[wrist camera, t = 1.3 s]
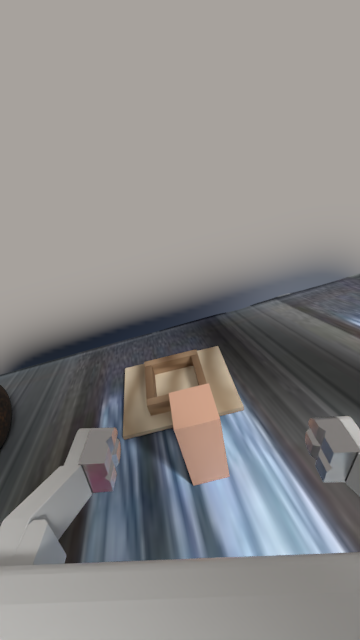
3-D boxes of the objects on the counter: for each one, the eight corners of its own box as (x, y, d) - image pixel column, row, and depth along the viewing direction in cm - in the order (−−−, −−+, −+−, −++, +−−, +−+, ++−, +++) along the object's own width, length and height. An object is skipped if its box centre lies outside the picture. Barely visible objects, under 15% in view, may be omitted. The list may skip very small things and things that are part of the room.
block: (219, 441, 35) (208, 383, 28) (229, 476, 32) (220, 418, 25) (187, 450, 35) (168, 393, 28) (193, 485, 32) (173, 430, 25)
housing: (218, 348, 50) (216, 335, 48) (243, 410, 38) (242, 395, 37) (126, 371, 50) (121, 358, 48) (124, 439, 38) (117, 426, 36)
